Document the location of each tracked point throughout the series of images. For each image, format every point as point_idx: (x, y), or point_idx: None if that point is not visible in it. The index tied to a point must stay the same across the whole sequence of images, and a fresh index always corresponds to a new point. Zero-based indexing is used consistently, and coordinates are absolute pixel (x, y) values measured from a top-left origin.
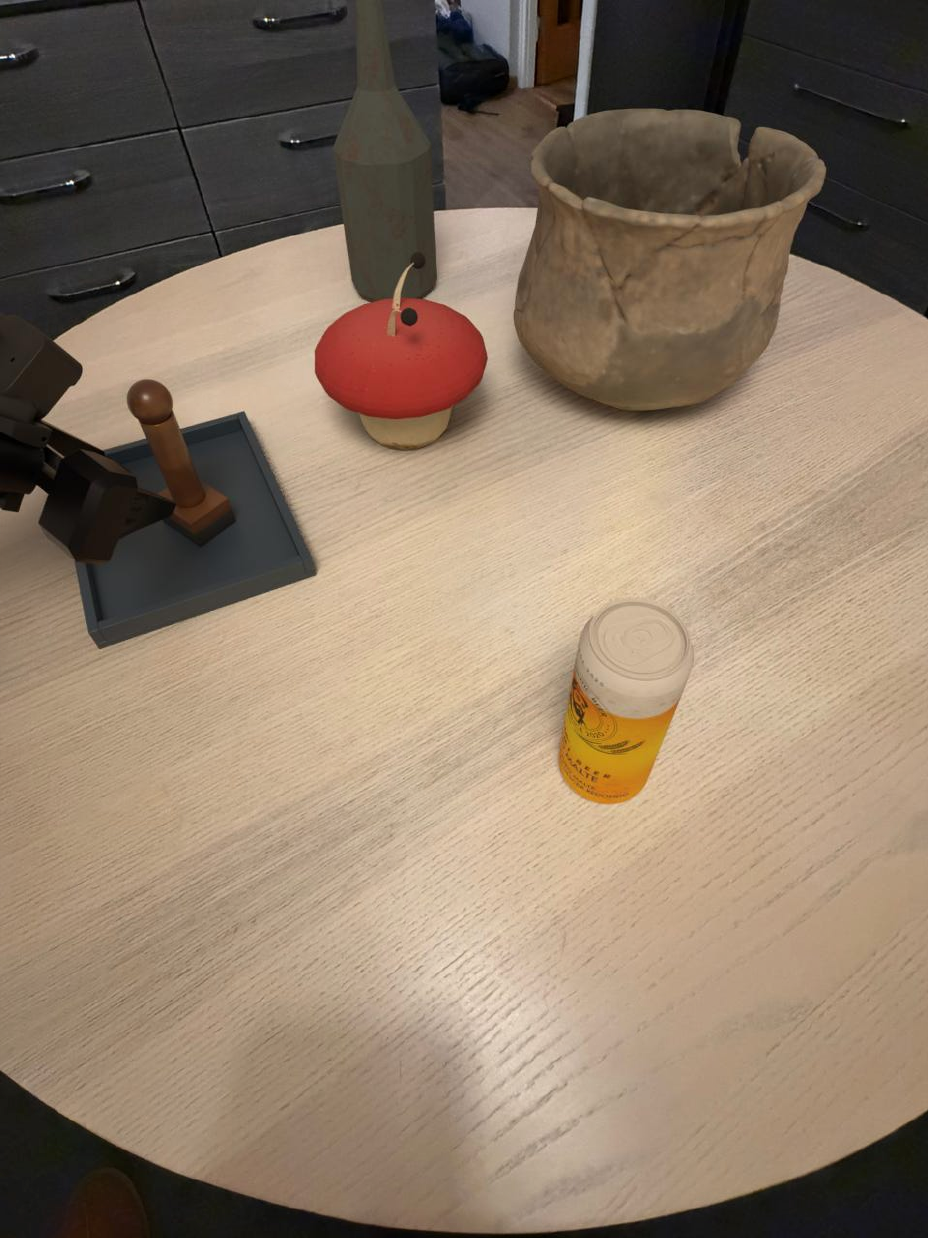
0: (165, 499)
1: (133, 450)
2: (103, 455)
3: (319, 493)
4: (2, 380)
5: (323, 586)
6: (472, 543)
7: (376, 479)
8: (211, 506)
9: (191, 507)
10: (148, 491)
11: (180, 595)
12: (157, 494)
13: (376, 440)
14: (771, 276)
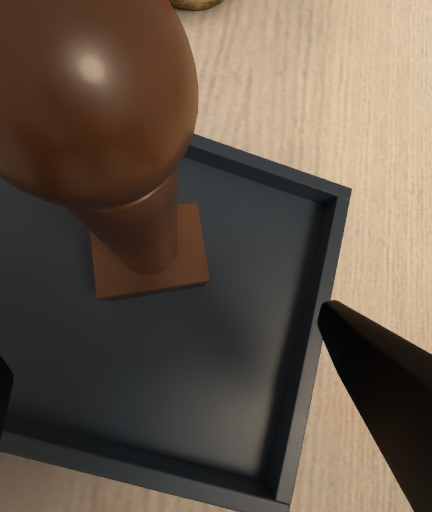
0: (380, 325)
1: None
2: (1, 362)
3: (213, 114)
4: None
5: (351, 206)
6: (391, 62)
7: (241, 55)
8: (195, 232)
9: (174, 258)
10: (419, 367)
11: (305, 363)
12: (366, 336)
13: (192, 4)
14: None
